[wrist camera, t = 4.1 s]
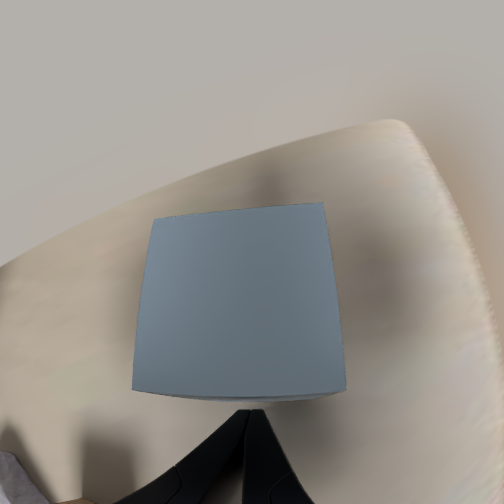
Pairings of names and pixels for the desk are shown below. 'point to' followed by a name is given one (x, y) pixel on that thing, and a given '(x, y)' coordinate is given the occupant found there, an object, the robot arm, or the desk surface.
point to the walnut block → (77, 501)
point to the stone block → (17, 483)
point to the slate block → (240, 307)
